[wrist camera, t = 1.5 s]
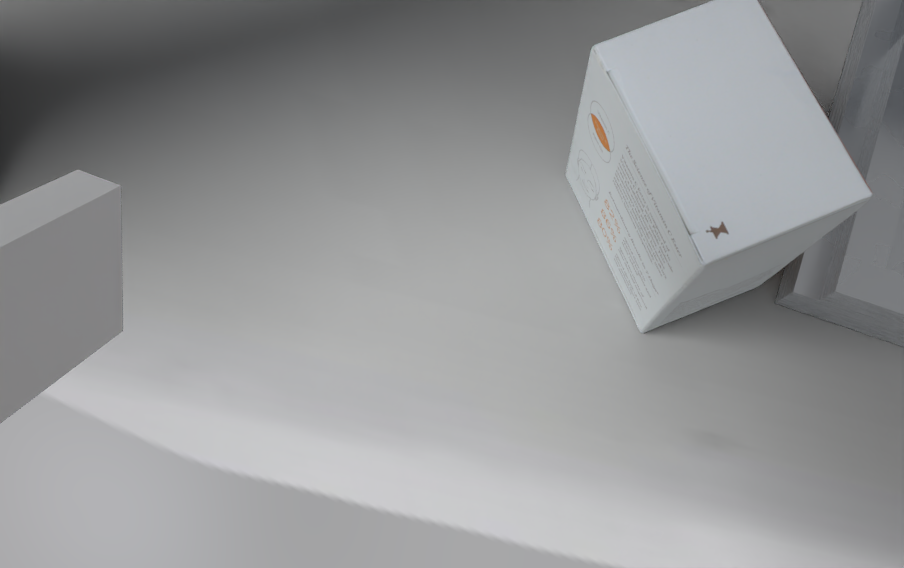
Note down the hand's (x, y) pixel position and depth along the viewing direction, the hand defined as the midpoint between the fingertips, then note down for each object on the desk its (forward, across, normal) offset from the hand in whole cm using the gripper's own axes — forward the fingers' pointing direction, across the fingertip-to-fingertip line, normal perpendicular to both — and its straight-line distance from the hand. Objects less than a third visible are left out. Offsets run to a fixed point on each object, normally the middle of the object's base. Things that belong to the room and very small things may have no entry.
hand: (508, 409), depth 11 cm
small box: (+23, +3, -6) cm, 24 cm away
